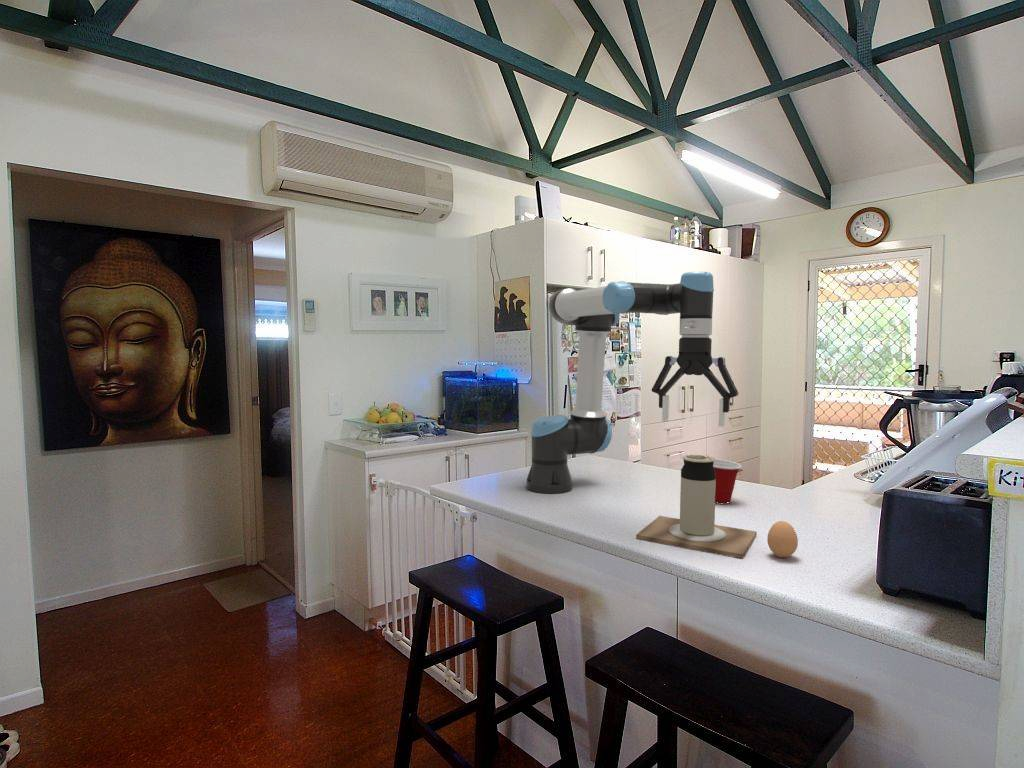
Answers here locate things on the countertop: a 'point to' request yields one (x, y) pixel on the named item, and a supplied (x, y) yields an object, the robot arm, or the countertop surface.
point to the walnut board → (699, 537)
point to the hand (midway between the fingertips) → (692, 423)
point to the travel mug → (697, 495)
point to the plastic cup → (725, 479)
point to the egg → (782, 539)
